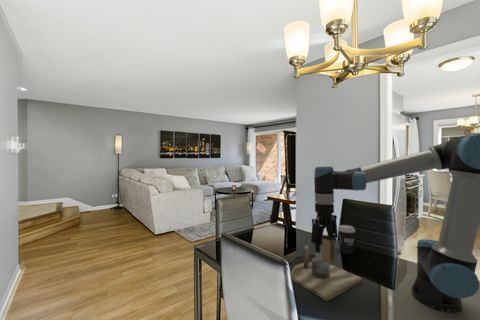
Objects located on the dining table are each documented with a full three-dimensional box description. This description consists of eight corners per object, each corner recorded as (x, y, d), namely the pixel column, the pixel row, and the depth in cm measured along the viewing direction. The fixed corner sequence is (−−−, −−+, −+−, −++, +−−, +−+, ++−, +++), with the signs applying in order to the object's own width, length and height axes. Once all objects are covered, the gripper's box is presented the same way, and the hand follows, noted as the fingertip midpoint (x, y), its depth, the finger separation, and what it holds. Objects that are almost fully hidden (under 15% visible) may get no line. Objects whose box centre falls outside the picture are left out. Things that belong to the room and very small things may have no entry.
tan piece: (337, 259, 96) (337, 238, 96) (327, 264, 92) (326, 241, 92) (323, 254, 102) (323, 233, 102) (312, 258, 98) (312, 236, 98)
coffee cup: (339, 254, 135) (339, 228, 135) (336, 248, 144) (336, 224, 144) (357, 255, 133) (357, 229, 133) (353, 249, 142) (353, 225, 142)
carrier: (362, 281, 105) (362, 255, 105) (326, 301, 90) (326, 270, 90) (313, 259, 128) (313, 237, 128) (278, 272, 113) (278, 247, 113)
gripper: (331, 199, 106) (331, 249, 106) (301, 204, 95) (302, 260, 95) (346, 201, 99) (347, 254, 99) (316, 207, 89) (317, 267, 88)
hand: (325, 257), depth 97 cm, fingers closed on tan piece, 7 cm apart
